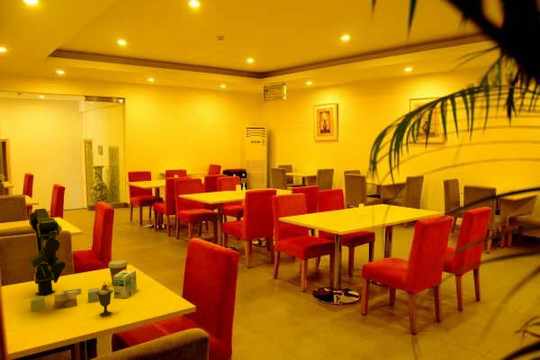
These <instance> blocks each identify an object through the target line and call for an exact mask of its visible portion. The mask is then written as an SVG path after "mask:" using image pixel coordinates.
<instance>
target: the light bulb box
mask: <svg viewBox="0 0 540 360" xmlns="http://www.w3.org/2000/svg"><path fill="white" fill-rule="evenodd" d="M137 285H138V284H137V270H135V269H126V270H123V271H121V272H119V273H118V274H116V275H114V276H113V283H112V287H113V298H116V299H117V298H118V299H127V298H129V297H130V296H132V295H133V294H134V293H136V292H137V291H138V289H137Z"/></svg>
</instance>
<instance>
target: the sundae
mask: <svg viewBox="0 0 540 360" xmlns="http://www.w3.org/2000/svg"><path fill="white" fill-rule="evenodd" d="M112 293H114V289H112V288H110V286H109V285H107V284H105V282H103V284H102V285H101V287H100V288H99V291H98V292H97V293H96V294H98V297H99V301H98V302H99V305H100V306H102V307H103V311H102V312H101V313H100V314H99V316H100V317H104V318H105V317H108V316H111V315H112V314H113V313H112V311H108V306H109V305H110V304H111V298H112V297H111V296H112Z"/></svg>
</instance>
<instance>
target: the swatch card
mask: <svg viewBox="0 0 540 360" xmlns="http://www.w3.org/2000/svg"><path fill="white" fill-rule="evenodd" d="M72 292H76V296H78V295H82V288H74V289H68V290H63V292H62V294H66V293H72Z"/></svg>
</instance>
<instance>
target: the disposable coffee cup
mask: <svg viewBox="0 0 540 360" xmlns="http://www.w3.org/2000/svg"><path fill="white" fill-rule="evenodd" d="M128 264H129V263H128V262H127V260H126V259H115V260H111V261H109V262H108V268H109V271H110V276H111V281H112V284H113V276H114V275H116V274H118V273H119V272H121V271H123V270H128V269H127V268H128Z"/></svg>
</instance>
